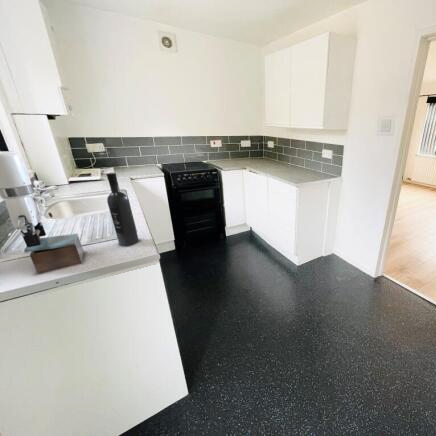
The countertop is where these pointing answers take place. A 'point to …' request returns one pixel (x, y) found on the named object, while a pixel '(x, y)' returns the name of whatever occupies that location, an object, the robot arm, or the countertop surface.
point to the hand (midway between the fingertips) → (37, 240)
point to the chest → (57, 257)
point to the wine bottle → (121, 214)
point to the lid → (53, 242)
